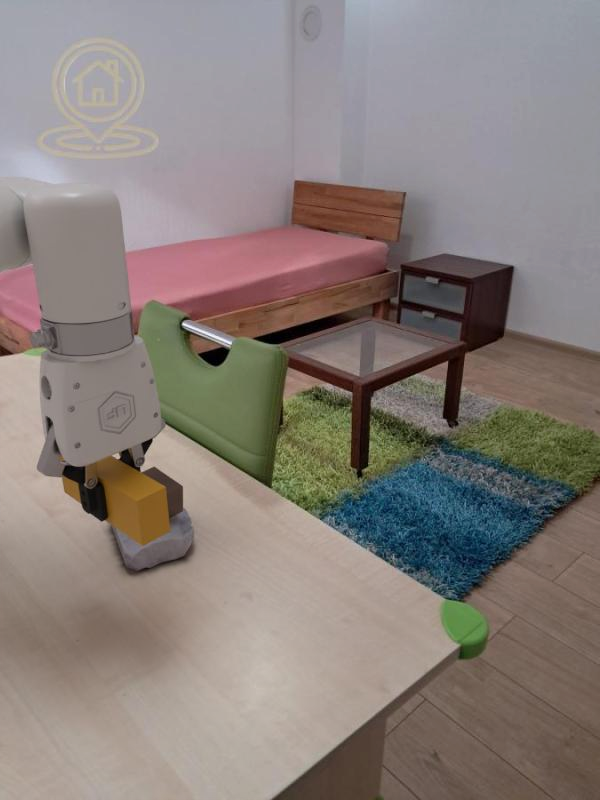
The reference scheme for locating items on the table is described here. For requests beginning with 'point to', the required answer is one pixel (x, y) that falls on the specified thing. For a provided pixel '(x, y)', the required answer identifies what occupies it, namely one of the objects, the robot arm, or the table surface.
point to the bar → (129, 500)
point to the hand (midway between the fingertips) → (114, 505)
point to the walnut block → (168, 490)
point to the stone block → (157, 544)
